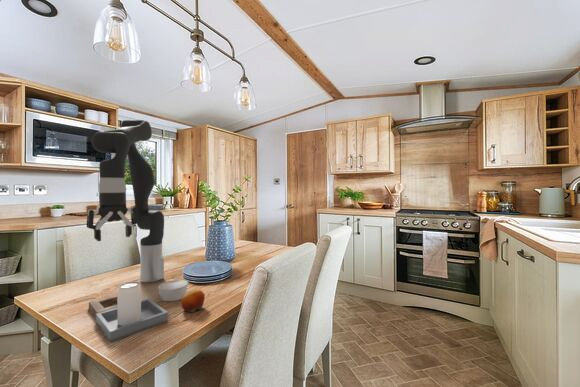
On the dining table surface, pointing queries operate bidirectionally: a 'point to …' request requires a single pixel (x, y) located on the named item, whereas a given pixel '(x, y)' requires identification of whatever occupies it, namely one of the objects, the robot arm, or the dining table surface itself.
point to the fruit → (193, 300)
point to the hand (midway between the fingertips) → (113, 238)
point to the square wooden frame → (102, 304)
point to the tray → (149, 318)
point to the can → (129, 303)
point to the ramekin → (172, 290)
